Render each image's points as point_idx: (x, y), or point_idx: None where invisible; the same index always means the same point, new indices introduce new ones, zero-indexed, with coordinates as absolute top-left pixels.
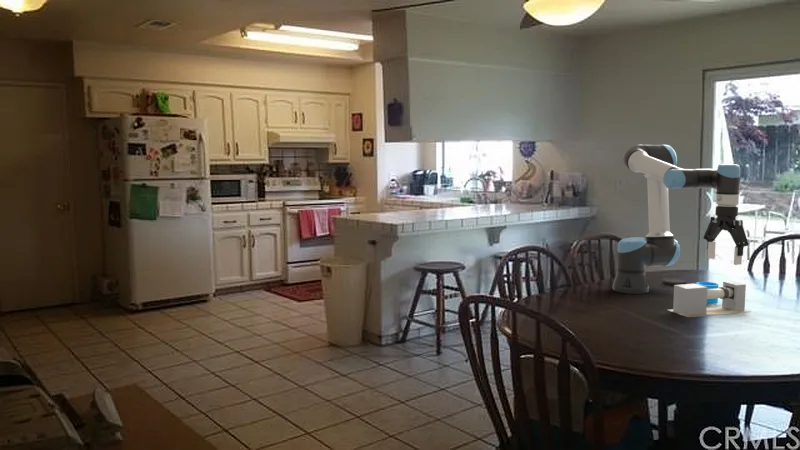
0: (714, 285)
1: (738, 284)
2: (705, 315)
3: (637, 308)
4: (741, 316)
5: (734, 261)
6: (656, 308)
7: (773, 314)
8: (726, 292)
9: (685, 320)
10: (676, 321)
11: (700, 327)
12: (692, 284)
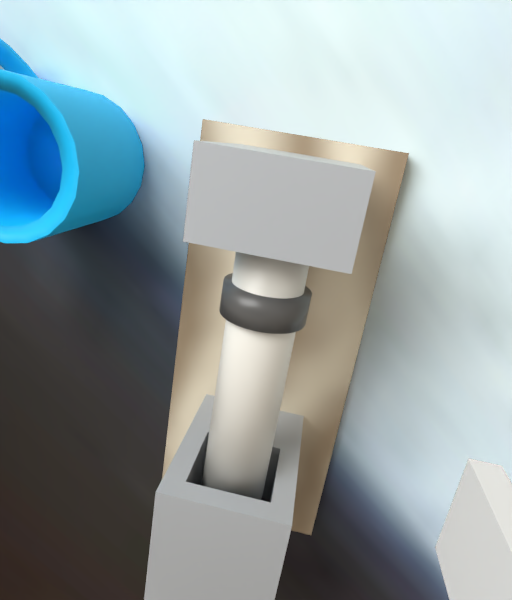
0: (70, 166)
1: (337, 232)
2: (327, 448)
3: (64, 527)
4: (402, 252)
5: (459, 592)
6: (90, 467)
7: (487, 6)
8: (305, 318)
9: (312, 537)
10: (305, 575)
11: (428, 581)
12: (172, 523)
